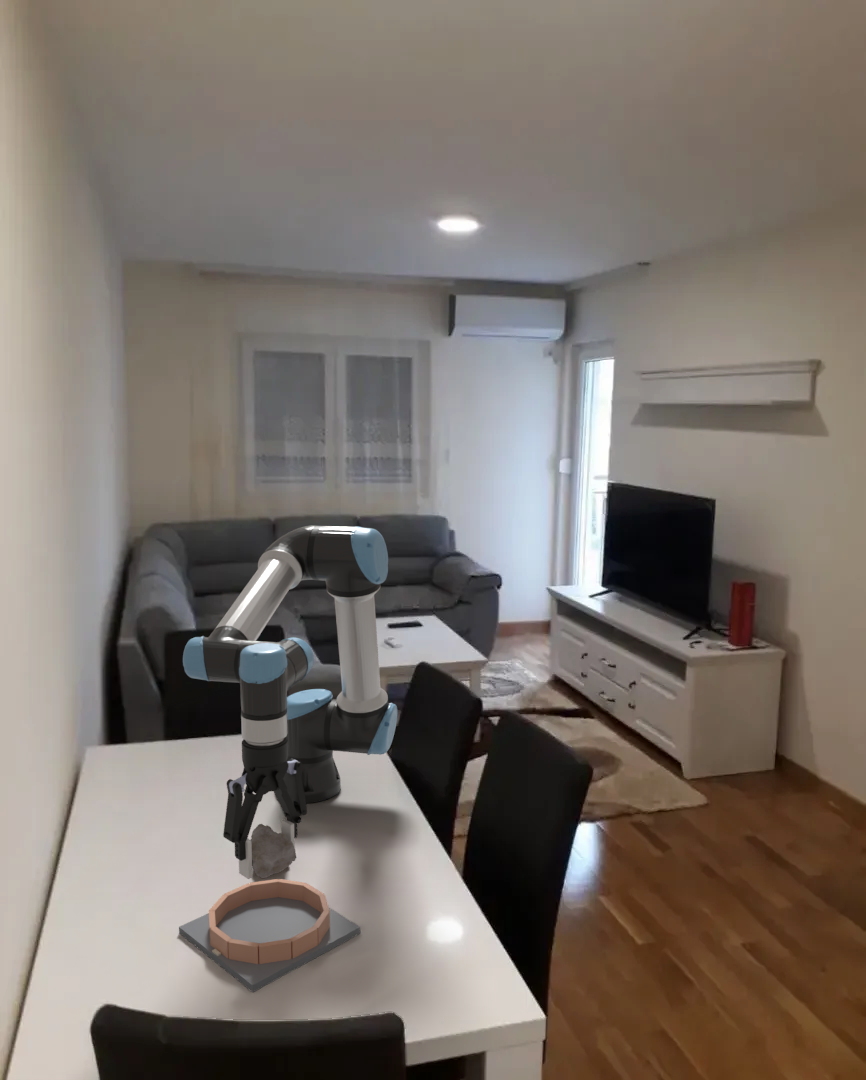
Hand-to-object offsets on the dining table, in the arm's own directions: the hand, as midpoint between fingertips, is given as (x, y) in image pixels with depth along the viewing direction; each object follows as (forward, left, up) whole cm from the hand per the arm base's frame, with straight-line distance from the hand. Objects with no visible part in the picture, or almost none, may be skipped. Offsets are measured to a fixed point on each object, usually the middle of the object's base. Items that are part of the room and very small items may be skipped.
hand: (267, 866), depth 154 cm
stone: (-1, 0, -1) cm, 1 cm away
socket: (0, 0, -13) cm, 13 cm away
